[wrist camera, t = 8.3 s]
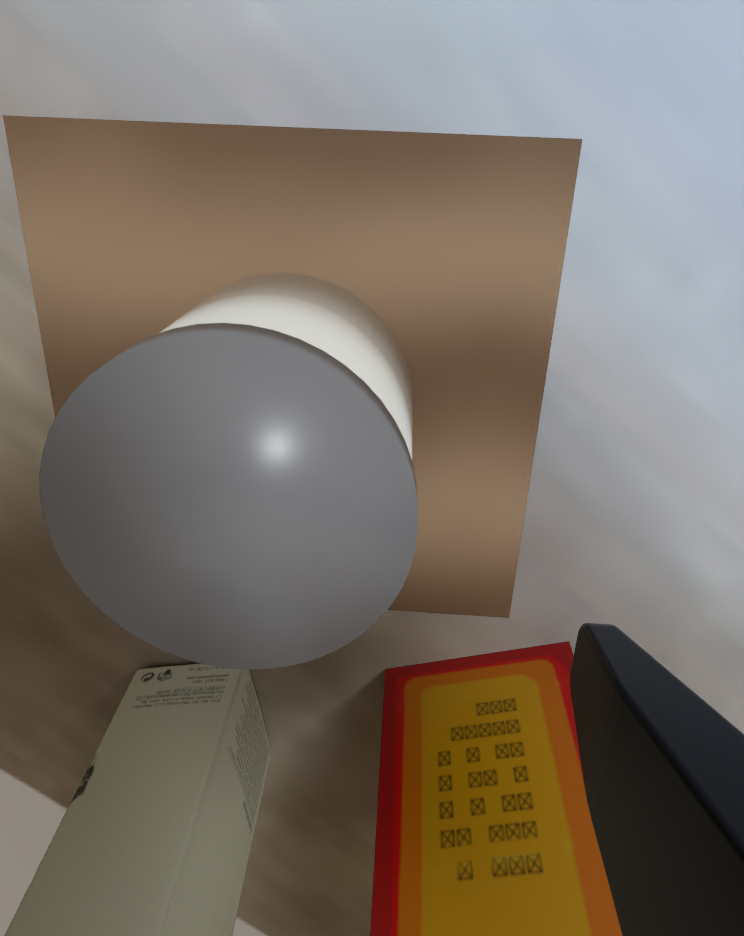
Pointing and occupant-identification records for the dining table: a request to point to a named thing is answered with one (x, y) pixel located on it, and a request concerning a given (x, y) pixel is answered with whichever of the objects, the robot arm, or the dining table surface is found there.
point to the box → (159, 814)
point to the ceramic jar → (241, 477)
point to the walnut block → (337, 261)
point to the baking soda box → (486, 803)
